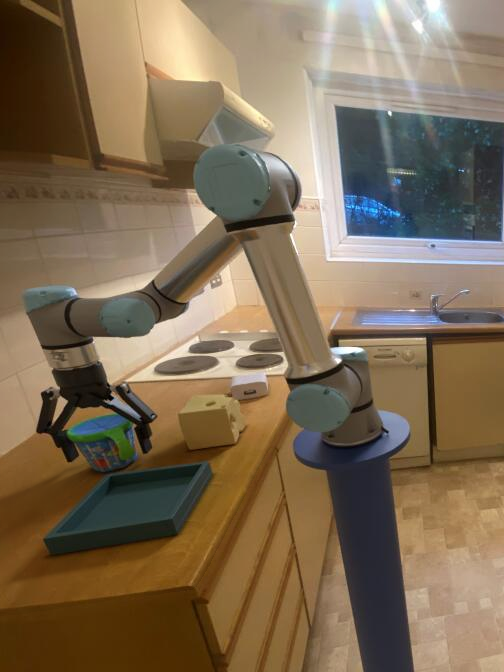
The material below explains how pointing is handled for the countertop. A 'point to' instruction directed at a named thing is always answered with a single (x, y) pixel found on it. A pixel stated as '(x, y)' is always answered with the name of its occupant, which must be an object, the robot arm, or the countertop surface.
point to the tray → (131, 508)
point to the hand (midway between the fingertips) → (111, 455)
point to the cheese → (211, 421)
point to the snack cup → (105, 441)
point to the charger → (249, 386)
